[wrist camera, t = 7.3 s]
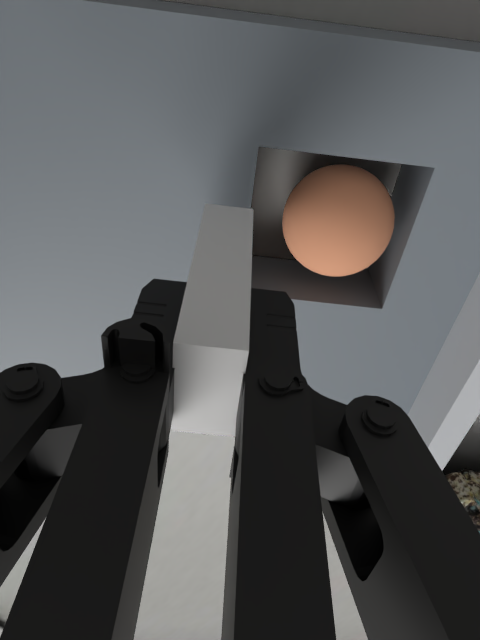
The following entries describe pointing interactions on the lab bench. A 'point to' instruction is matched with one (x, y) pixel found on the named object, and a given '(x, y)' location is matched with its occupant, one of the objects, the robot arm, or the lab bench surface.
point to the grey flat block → (239, 185)
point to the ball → (338, 220)
